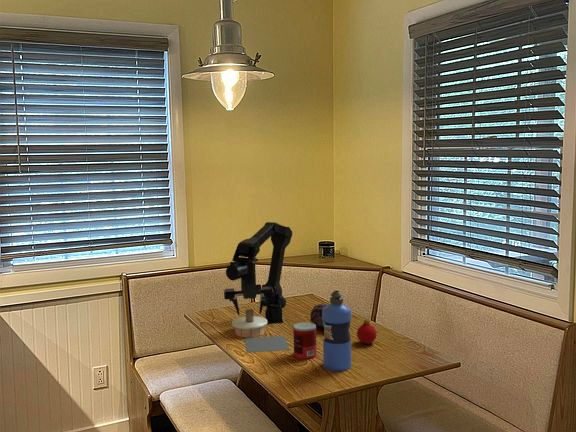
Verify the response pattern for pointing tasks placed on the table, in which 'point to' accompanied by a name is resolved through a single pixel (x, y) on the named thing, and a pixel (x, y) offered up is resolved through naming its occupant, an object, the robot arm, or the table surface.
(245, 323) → the lid
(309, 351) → the canned food
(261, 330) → the bowl
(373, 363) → the table surface
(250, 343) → the mat
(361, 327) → the christmas ornament
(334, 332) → the water bottle
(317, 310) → the pine cone
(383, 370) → the table surface
